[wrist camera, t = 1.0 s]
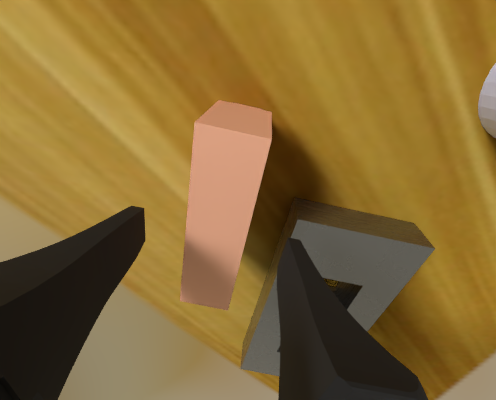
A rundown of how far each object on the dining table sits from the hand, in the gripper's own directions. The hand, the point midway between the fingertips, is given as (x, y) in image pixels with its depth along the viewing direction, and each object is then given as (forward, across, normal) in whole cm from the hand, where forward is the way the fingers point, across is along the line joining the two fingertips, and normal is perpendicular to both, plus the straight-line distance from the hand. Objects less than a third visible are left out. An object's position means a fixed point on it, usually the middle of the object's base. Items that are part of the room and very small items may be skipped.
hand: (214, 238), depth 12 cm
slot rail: (+8, -10, +12) cm, 17 cm away
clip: (+8, 0, 0) cm, 8 cm away
